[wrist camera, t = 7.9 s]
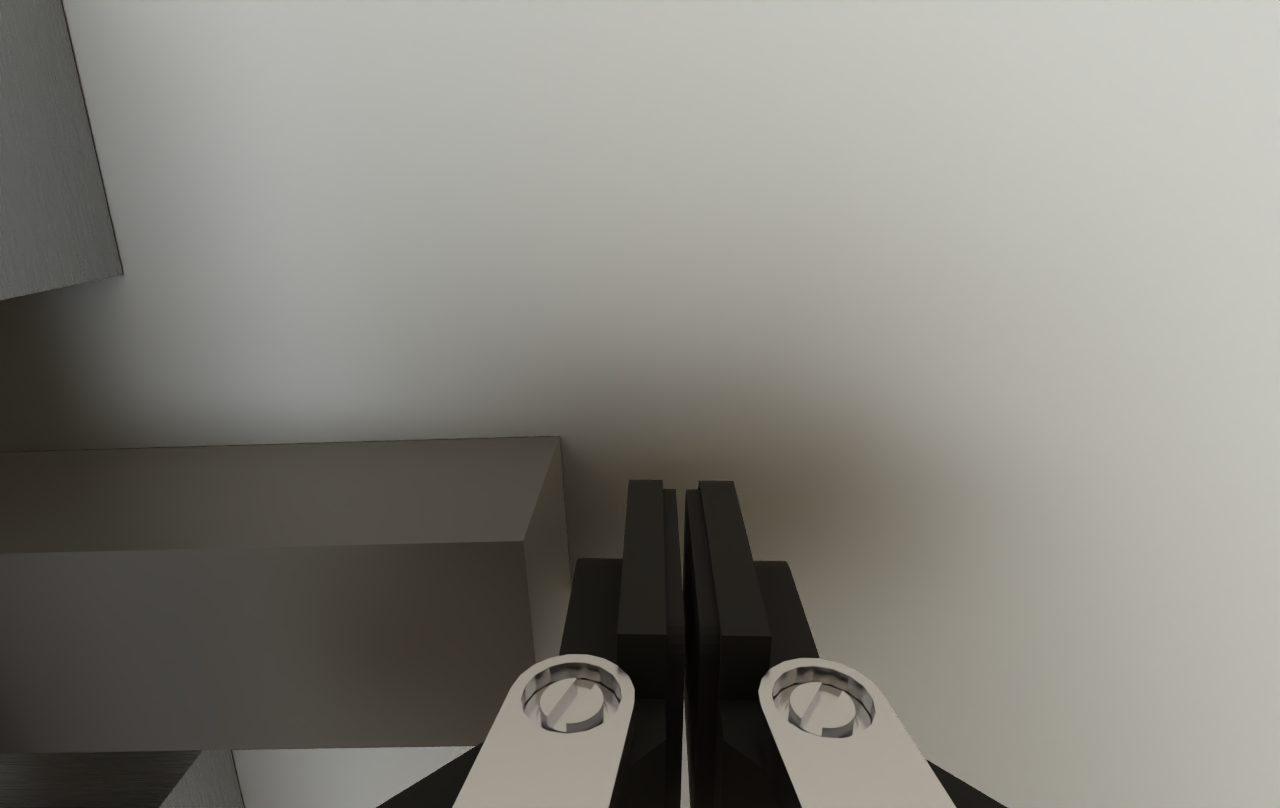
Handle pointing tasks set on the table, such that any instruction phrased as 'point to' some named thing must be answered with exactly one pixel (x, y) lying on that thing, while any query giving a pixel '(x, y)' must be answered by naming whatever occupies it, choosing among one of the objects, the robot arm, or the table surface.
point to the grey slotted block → (49, 259)
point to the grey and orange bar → (276, 593)
